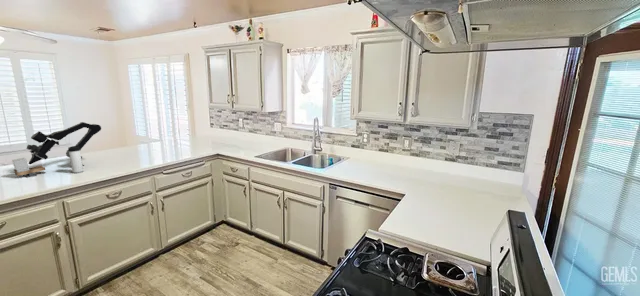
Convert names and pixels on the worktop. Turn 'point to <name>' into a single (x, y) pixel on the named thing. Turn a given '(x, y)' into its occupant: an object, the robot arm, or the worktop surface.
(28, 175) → the pivot stand
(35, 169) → the walnut beam
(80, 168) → the travel mug
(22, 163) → the block
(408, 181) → the worktop surface
